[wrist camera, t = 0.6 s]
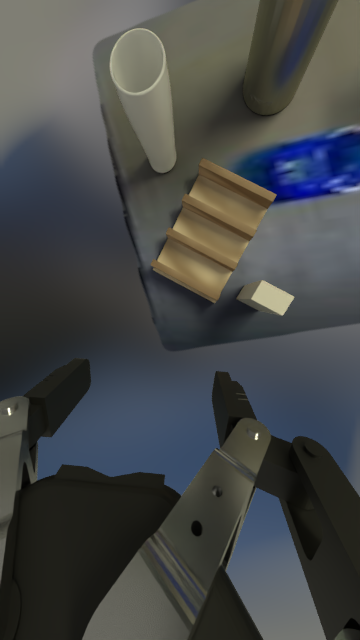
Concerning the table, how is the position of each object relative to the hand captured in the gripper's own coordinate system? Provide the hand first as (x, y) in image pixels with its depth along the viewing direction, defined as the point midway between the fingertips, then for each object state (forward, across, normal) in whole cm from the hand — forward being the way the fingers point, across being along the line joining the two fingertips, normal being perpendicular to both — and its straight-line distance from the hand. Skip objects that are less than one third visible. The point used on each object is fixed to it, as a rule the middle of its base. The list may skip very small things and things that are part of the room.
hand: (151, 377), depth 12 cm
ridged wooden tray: (+30, -6, -12) cm, 32 cm away
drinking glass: (+33, +5, -26) cm, 42 cm away
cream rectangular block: (+27, -15, -1) cm, 31 cm away
